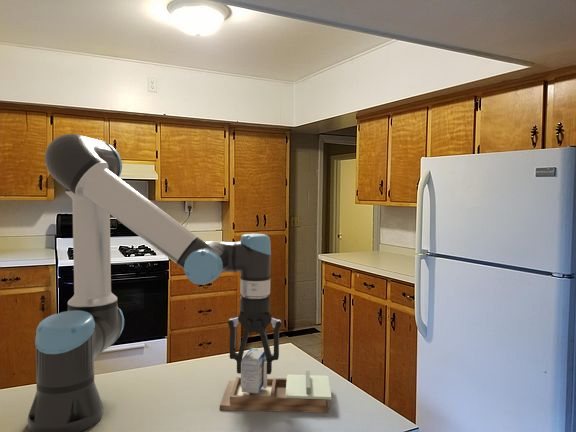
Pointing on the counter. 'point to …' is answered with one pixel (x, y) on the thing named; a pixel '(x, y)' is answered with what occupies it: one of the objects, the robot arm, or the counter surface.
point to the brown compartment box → (268, 399)
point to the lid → (308, 386)
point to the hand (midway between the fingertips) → (254, 385)
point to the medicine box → (253, 370)
